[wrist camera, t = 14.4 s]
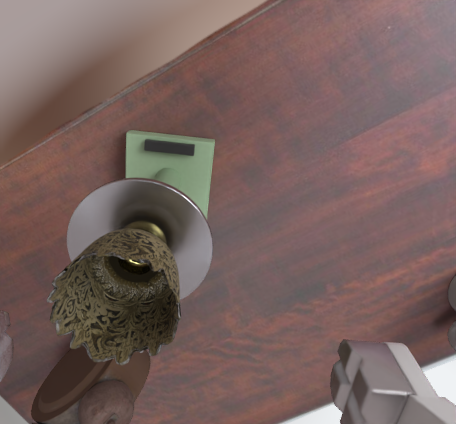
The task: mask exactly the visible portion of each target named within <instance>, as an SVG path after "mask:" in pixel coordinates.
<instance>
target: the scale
mask: <svg viewBox="0 0 456 424" xmlns="http://www.w3.org/2000/svg"><path fill="white" fill-rule="evenodd" d="M214 144H215V140H214V139H206V138H197V137H188V136H179V135H170V134H162V133H153V132H144V131H135V130H130V131H128V132H127V133H126V178H148V179H154V180H157V181H161V182H164V183H166V184H169V185H171V186H173V187H175V188H177V189H178V190H180V191H182V192H183V193H184V194H186V195H187V196H188V197H190V198H191V199H192V200H193V201H194V202H195V203H196V204H197V206H198V207H199V208H200V210H201V211H202V212H203V214H204V216H205V217H206V219H207V211H208V202H209V192H210V183H211V173H212V164H213V154H214Z"/></svg>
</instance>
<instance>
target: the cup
mask: <svg viewBox="0 0 456 424" xmlns="http://www.w3.org/2000/svg"><path fill="white" fill-rule="evenodd" d="M52 285H53V286H54V289H53V291H52V292H51V293H50V295H49V297H48V298H47V302H51V303H52V302H54V301H55V302H54V304H53V306H52V313H51V316H50V321H51V323H54V322H57V323H56V333H57V335H60V336H61V335H66V334H69V333H71V332H72V339H71V342H70V348H72V349H76V348H80V347H81V346H82V345H81V344H83V346H84V347H85V348H86V349H87V353H88V355H89V357H90V358H91V359H92V360H93V361H94V362H104V361H107V360H110V359H114V358H115V360H116V363H117V364H119V365H121V366H122V365H125V364H127V363H128V362H129V360H130V358H131V357H130V356H132V355H133V354H132V353H133V352H137V351H138V352H140V353H142V352H143V351H144V350H145V349H149V353H150V354H149V355H150V356H155V355H157V354H158V352H159V351H160V349H161V346H162V345H168V344H169V343H171V342H172V341H173V339H174V337H175V334H176V330H177V325H178V321H180V320H181V312H180V285H179V273H178V268H177V264H176V261H175V258H174V256H173V254H172V252H171V250H170V249H169V248H168V246H167V245H166V244H165V243H164V242H163V241H162V240H161V239H159V238H158V237H157V236H155V235H153V234H151V233H149V232H147V231H143V230H139V229H120V230H115V231H112V232H109V233H107V234H105V235H103V236H101V237H100V238H98V239H97V240H95V241H94V242H93V243H91V244H90V245H89V246H88V247H87V248H86V249H85V250H84V251H82V252H81V253H80V254H79V255H78V256H77V257H76V258H75V259H74V260H73V261H72V262H71V263H70V264H69V265H68V266H67V267H66V268H65V269H64V270H63V271H62V272H61V273H60V274H59V275H58V276H57V277H56V278H55V279H54V280H53V282H52ZM80 345H81V346H80Z"/></svg>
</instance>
